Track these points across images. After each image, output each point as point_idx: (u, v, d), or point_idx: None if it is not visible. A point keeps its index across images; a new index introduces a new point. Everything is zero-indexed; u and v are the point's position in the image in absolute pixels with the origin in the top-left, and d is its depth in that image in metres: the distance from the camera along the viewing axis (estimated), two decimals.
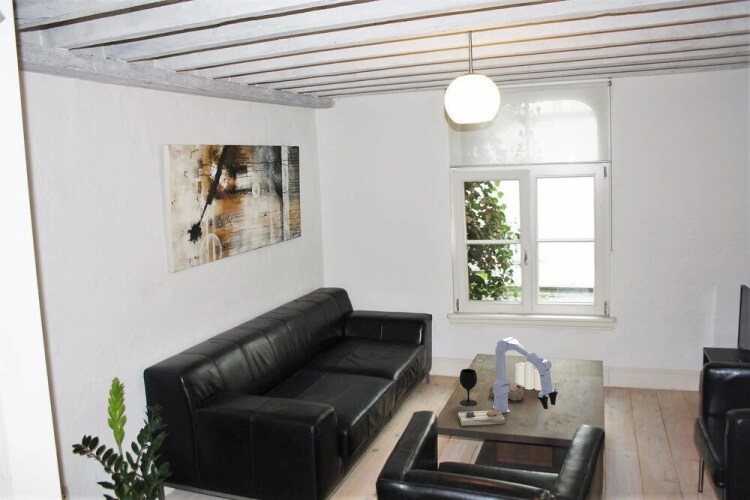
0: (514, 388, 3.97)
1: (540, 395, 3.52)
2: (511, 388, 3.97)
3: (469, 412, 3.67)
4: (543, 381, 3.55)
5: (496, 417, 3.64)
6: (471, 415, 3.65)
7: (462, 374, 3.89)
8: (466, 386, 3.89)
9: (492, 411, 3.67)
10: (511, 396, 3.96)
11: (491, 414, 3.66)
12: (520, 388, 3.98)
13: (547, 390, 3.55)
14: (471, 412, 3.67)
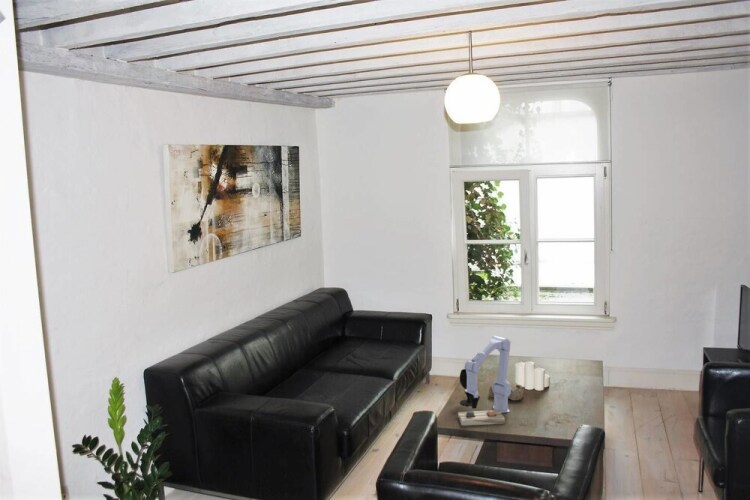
0: (514, 388, 3.97)
1: None
2: (511, 388, 3.97)
3: (469, 412, 3.67)
4: None
5: (496, 417, 3.64)
6: (471, 415, 3.65)
7: (462, 374, 3.89)
8: (466, 386, 3.89)
9: (492, 411, 3.67)
10: (511, 396, 3.96)
11: (491, 414, 3.66)
12: (520, 388, 3.98)
13: None
14: (471, 412, 3.67)
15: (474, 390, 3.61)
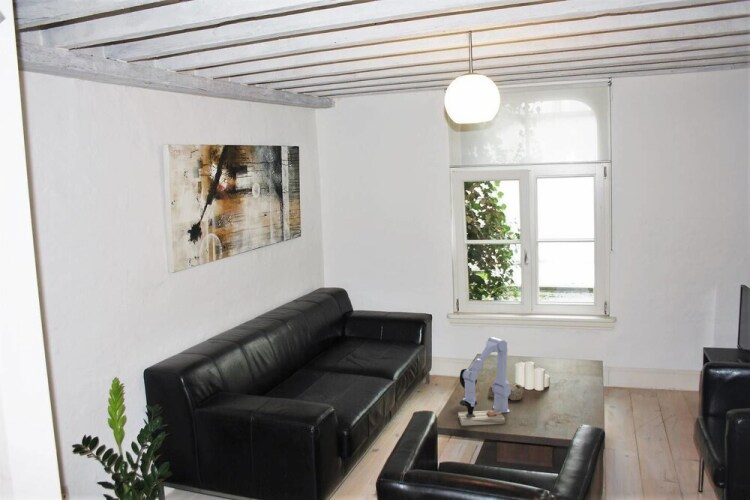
0: (513, 388, 3.97)
1: None
2: (510, 388, 3.97)
3: None
4: None
5: (496, 417, 3.64)
6: None
7: (462, 374, 3.89)
8: None
9: (492, 411, 3.67)
10: (510, 396, 3.96)
11: (491, 414, 3.66)
12: (519, 388, 3.98)
13: None
14: None
15: (472, 399, 3.63)
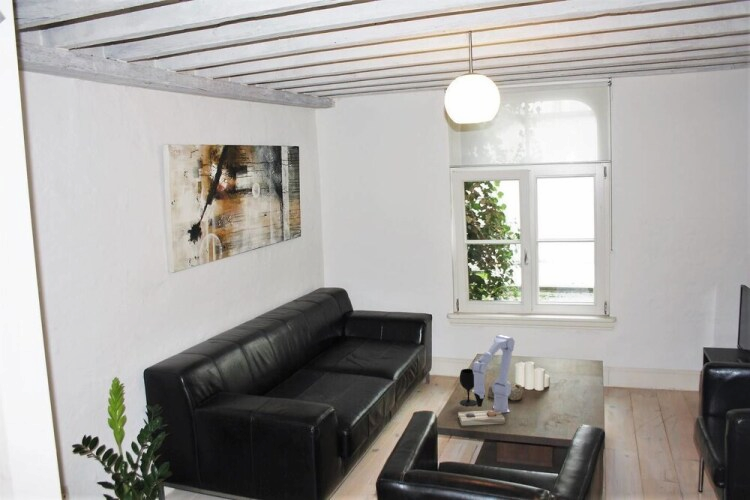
0: (513, 388, 3.97)
1: None
2: None
3: (469, 414, 3.67)
4: None
5: (496, 417, 3.64)
6: None
7: (462, 374, 3.89)
8: (466, 386, 3.89)
9: (492, 411, 3.67)
10: (510, 396, 3.96)
11: (491, 414, 3.66)
12: (519, 388, 3.98)
13: None
14: (471, 414, 3.67)
15: (481, 391, 3.63)
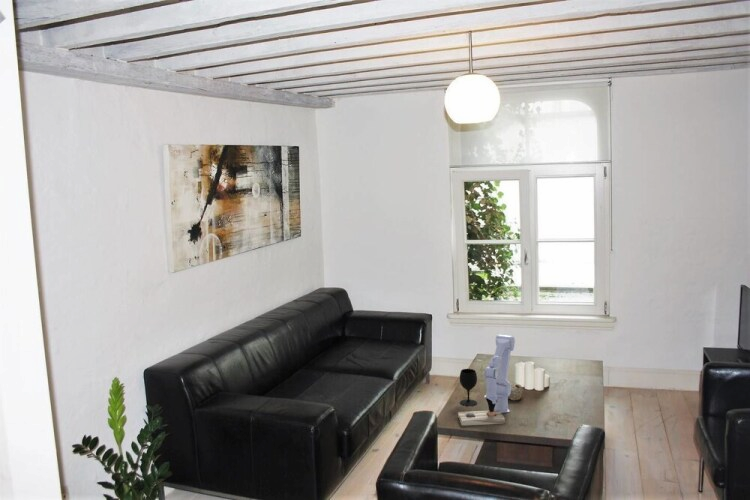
0: (513, 388, 3.97)
1: None
2: None
3: (469, 414, 3.67)
4: None
5: (496, 417, 3.64)
6: None
7: (462, 374, 3.89)
8: (466, 386, 3.89)
9: None
10: (510, 396, 3.96)
11: (491, 414, 3.66)
12: (519, 388, 3.98)
13: None
14: (471, 414, 3.67)
15: (493, 396, 3.64)
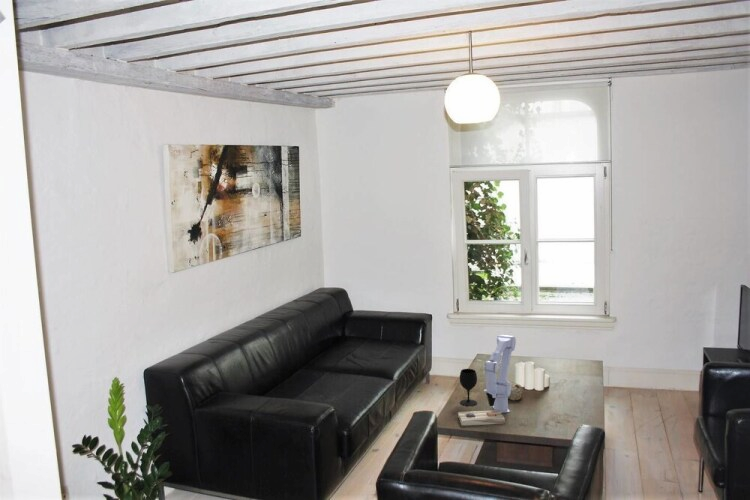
0: (513, 388, 3.97)
1: None
2: None
3: (469, 414, 3.67)
4: None
5: (496, 417, 3.64)
6: None
7: (462, 374, 3.89)
8: (466, 386, 3.89)
9: (492, 413, 3.68)
10: (510, 396, 3.96)
11: (491, 416, 3.66)
12: (519, 388, 3.98)
13: None
14: (471, 414, 3.67)
15: (493, 390, 3.63)
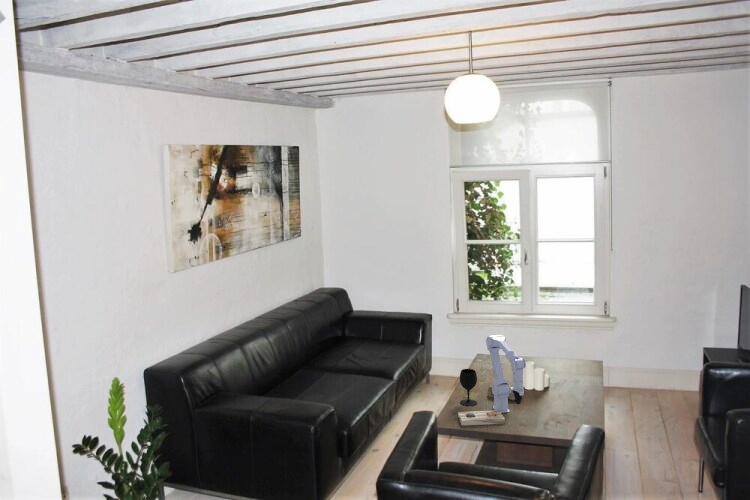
0: None
1: None
2: None
3: (469, 414, 3.67)
4: (514, 378, 3.61)
5: (496, 417, 3.64)
6: None
7: (462, 374, 3.89)
8: (466, 386, 3.89)
9: (492, 413, 3.68)
10: (510, 396, 3.96)
11: (491, 416, 3.66)
12: None
13: None
14: (471, 414, 3.67)
15: (520, 388, 3.60)
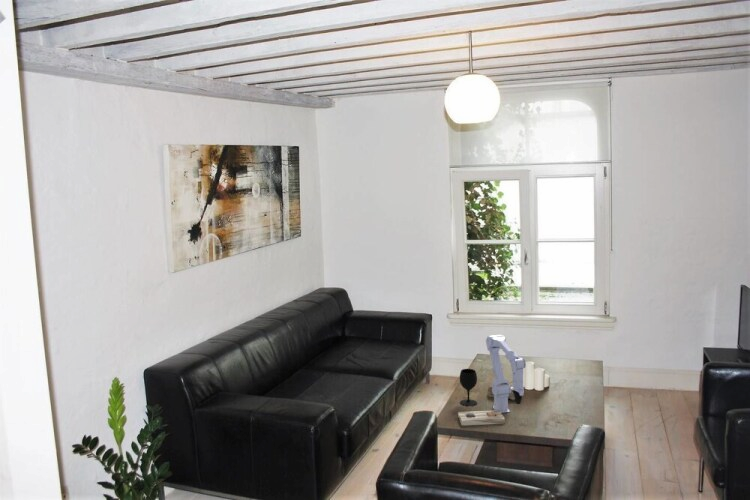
0: None
1: None
2: None
3: (469, 414, 3.67)
4: (514, 378, 3.61)
5: (496, 417, 3.64)
6: None
7: (462, 374, 3.89)
8: (466, 386, 3.89)
9: (492, 413, 3.68)
10: (510, 395, 3.97)
11: (491, 416, 3.66)
12: None
13: None
14: (471, 414, 3.67)
15: (520, 388, 3.60)
